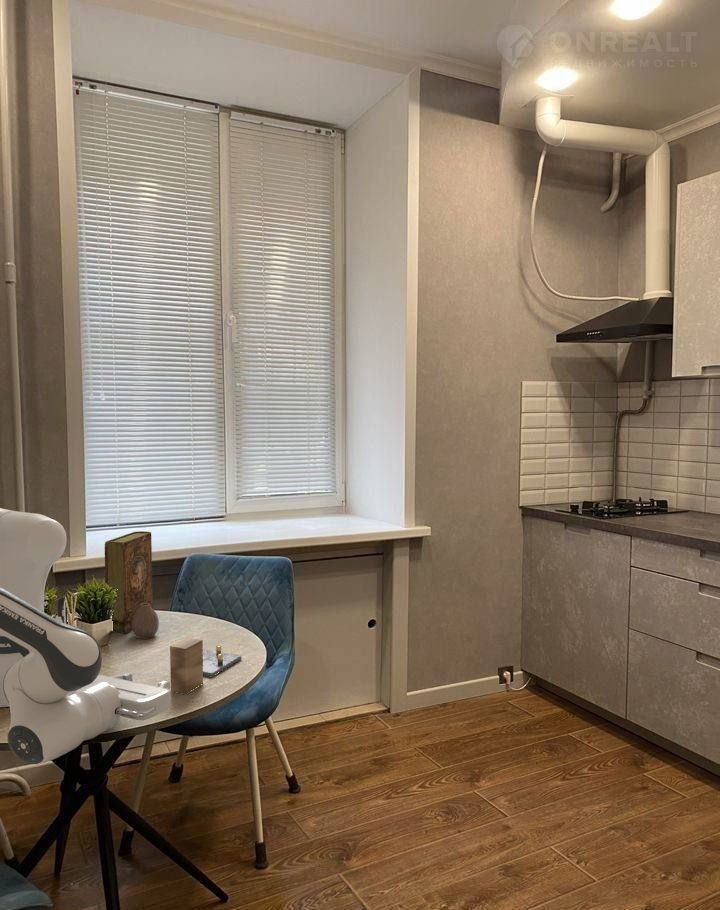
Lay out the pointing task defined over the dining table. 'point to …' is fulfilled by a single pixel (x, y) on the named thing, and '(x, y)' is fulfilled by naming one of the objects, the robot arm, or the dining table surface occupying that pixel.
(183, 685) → the board block
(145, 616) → the vase
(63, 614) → the battery charger
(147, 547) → the book
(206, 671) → the pin plate
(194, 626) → the dining table surface
